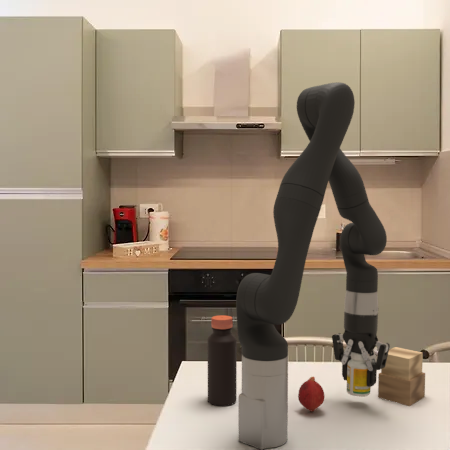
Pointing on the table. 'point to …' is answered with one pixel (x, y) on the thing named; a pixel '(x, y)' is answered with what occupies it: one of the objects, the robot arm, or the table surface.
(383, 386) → the tower base
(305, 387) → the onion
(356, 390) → the supplement bottle
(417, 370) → the tower top
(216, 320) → the vinegar
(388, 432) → the table surface
